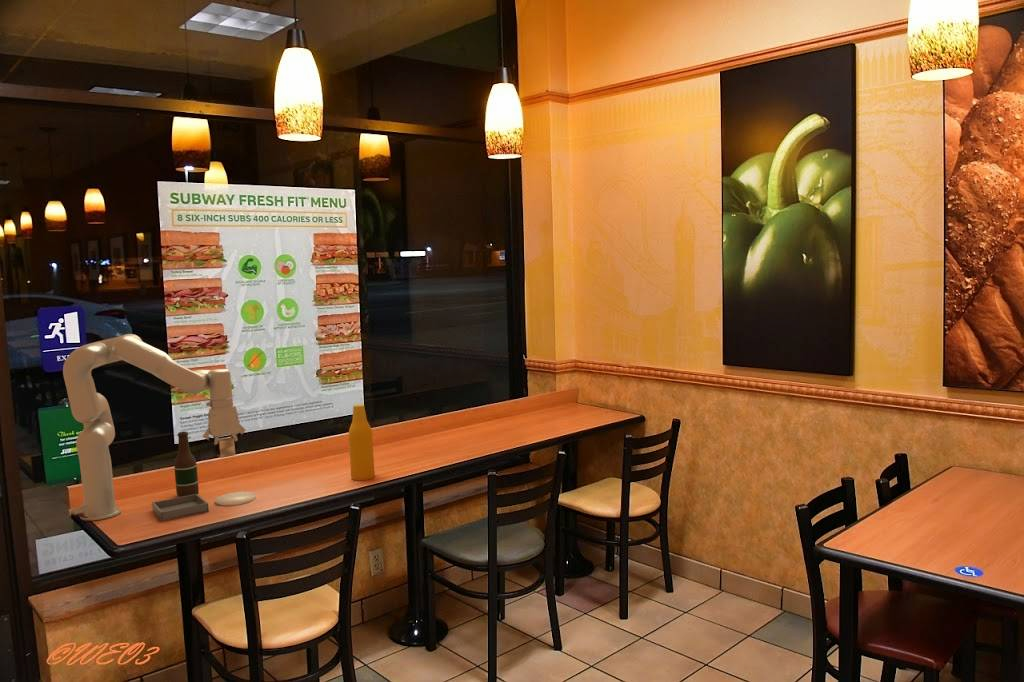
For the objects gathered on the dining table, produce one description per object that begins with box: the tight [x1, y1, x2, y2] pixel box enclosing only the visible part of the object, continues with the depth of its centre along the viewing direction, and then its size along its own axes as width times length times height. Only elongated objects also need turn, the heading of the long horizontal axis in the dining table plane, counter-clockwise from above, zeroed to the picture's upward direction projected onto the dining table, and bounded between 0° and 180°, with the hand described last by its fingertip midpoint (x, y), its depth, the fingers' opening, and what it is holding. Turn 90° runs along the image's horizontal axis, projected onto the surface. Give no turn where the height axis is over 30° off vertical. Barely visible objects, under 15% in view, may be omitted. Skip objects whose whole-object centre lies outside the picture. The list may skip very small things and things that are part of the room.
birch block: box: [217, 436, 236, 458], centre depth 278 cm, size 5×5×6 cm
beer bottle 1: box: [173, 431, 200, 498], centre depth 290 cm, size 8×8×24 cm
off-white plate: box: [214, 491, 257, 507], centre depth 281 cm, size 14×14×1 cm
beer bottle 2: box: [348, 404, 376, 482], centre depth 304 cm, size 9×9×29 cm
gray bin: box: [151, 493, 209, 522], centre depth 270 cm, size 15×15×3 cm
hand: (226, 452), depth 278 cm, fingers closed on birch block, 5 cm apart
